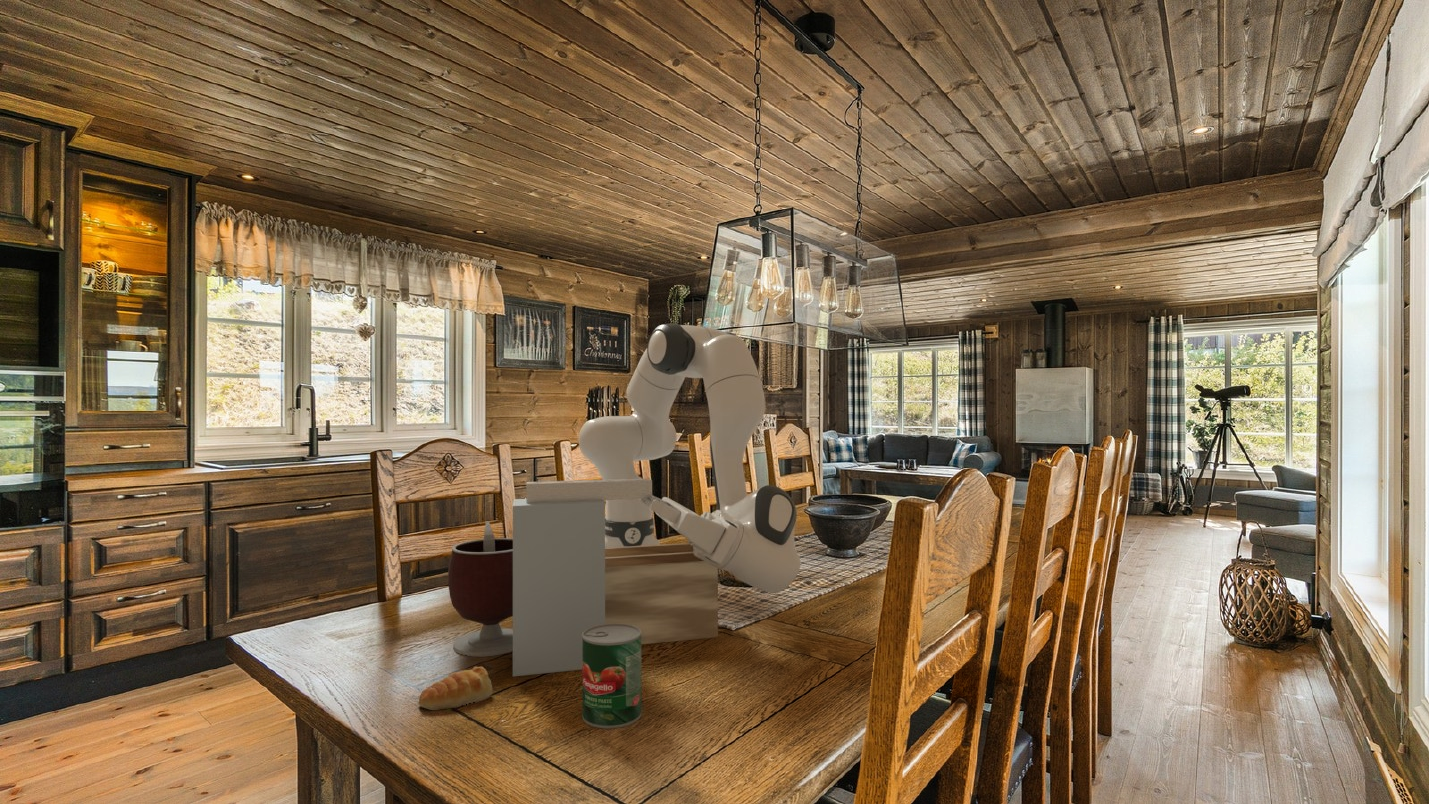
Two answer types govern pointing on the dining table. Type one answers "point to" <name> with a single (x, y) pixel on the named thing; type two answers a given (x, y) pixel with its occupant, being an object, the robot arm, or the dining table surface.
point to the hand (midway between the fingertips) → (646, 499)
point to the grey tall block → (556, 582)
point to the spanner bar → (588, 490)
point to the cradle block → (661, 592)
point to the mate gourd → (483, 592)
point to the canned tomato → (611, 675)
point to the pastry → (457, 690)
